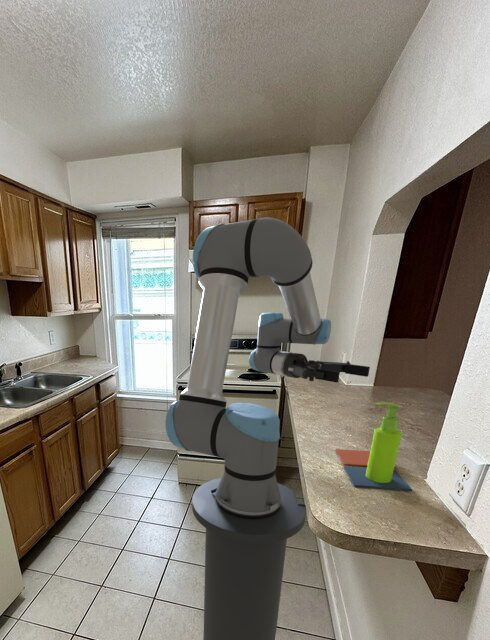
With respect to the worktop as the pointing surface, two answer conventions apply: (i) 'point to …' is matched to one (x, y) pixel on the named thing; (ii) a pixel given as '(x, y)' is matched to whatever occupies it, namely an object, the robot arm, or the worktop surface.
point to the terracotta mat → (354, 457)
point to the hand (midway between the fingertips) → (353, 374)
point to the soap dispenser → (384, 446)
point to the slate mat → (361, 480)
